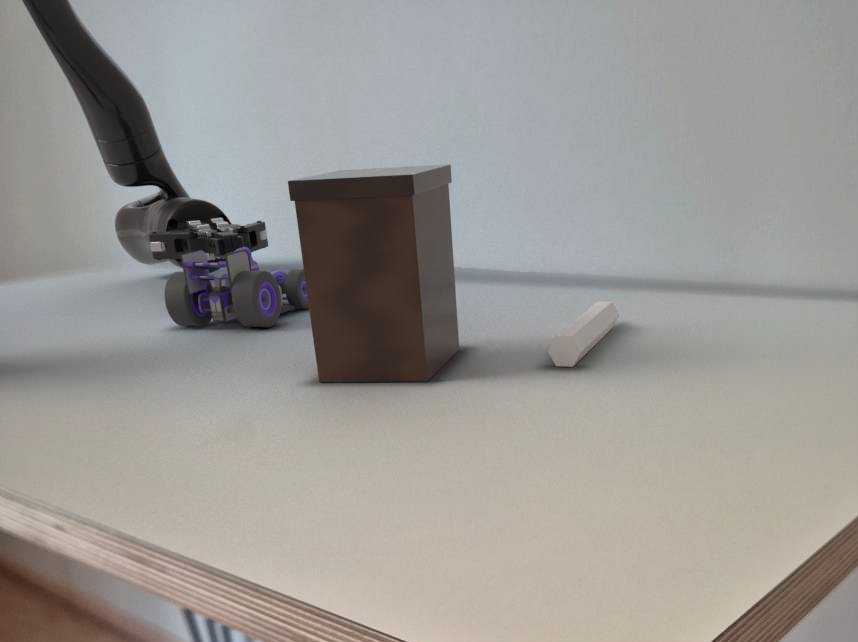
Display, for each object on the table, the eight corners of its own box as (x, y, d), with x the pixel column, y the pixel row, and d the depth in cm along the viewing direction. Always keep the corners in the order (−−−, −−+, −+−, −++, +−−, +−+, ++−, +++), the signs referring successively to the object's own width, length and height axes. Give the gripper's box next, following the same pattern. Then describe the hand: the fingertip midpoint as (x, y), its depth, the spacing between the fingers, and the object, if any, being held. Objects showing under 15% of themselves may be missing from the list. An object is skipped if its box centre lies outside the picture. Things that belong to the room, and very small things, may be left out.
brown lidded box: (311, 383, 68) (282, 181, 62) (357, 350, 77) (336, 170, 71) (429, 382, 67) (412, 174, 60) (462, 348, 75) (450, 164, 69)
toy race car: (335, 301, 98) (326, 232, 95) (259, 332, 86) (246, 254, 83) (254, 301, 102) (243, 234, 98) (169, 331, 89) (154, 256, 86)
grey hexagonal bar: (613, 330, 82) (568, 374, 69) (592, 317, 82) (543, 358, 69) (629, 302, 80) (586, 341, 67) (608, 289, 80) (561, 325, 67)
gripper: (122, 203, 104) (156, 211, 90) (242, 192, 109) (291, 198, 95) (138, 277, 107) (173, 295, 94) (253, 263, 112) (302, 278, 99)
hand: (232, 246), depth 95 cm, fingers closed
